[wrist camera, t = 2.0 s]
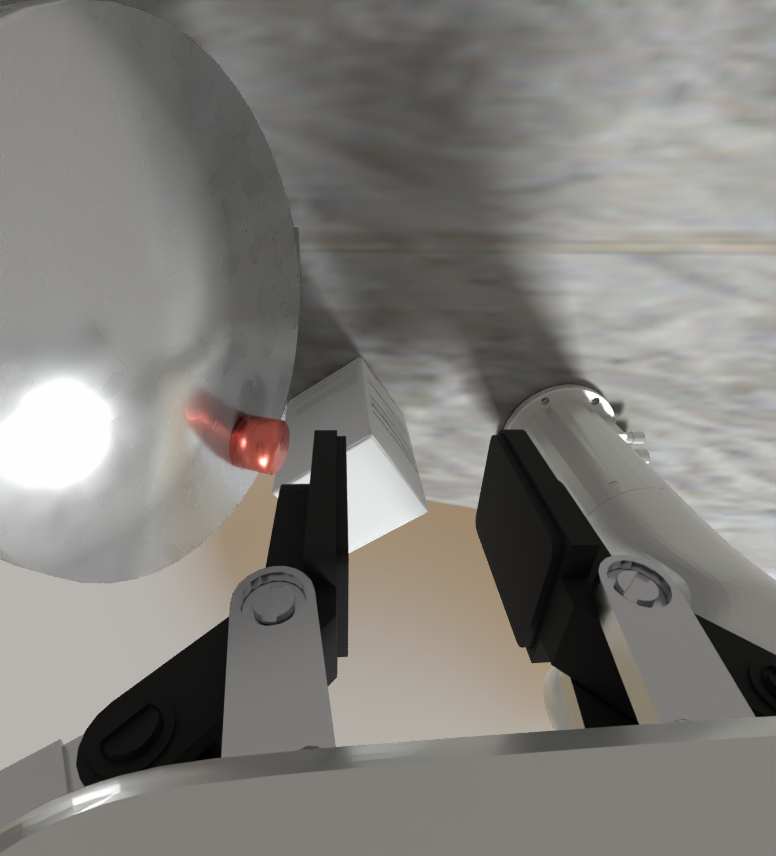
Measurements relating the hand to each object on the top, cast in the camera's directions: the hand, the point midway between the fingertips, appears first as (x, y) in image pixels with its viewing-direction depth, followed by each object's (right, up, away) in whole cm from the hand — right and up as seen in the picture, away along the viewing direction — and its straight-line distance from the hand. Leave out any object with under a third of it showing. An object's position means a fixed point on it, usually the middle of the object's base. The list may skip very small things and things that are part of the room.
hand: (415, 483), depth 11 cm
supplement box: (-5, +3, +37) cm, 37 cm away
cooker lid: (-11, +5, +8) cm, 14 cm away
